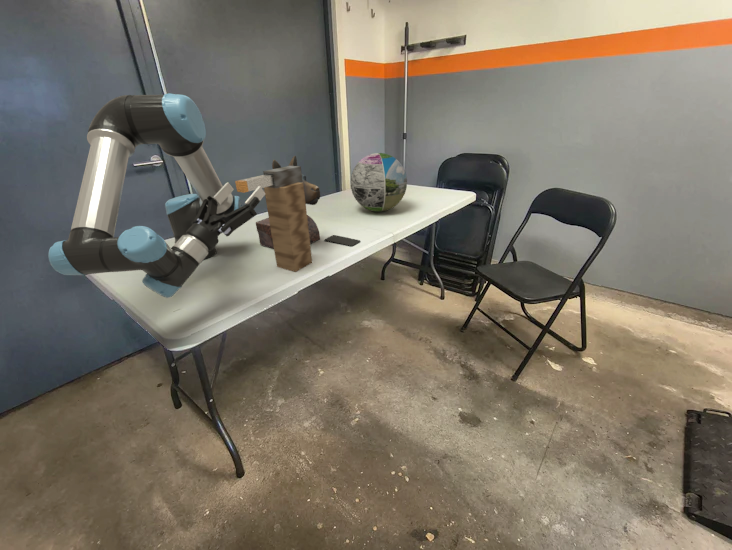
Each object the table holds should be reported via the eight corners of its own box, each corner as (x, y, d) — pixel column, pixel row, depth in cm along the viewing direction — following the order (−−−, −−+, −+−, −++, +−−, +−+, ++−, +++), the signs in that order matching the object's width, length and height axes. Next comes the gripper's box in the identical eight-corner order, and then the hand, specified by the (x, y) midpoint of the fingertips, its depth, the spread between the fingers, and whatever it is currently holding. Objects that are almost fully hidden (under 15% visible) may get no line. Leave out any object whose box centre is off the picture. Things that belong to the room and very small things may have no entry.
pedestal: (293, 273, 114) (279, 172, 98) (275, 267, 118) (258, 170, 103) (315, 260, 123) (305, 166, 107) (297, 256, 127) (285, 165, 112)
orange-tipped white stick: (244, 192, 93) (242, 181, 91) (237, 191, 94) (235, 181, 93) (299, 178, 110) (298, 169, 109) (292, 177, 112) (291, 168, 110)
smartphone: (352, 246, 134) (323, 239, 141) (352, 248, 134) (323, 241, 141) (361, 240, 139) (333, 234, 146) (361, 242, 140) (333, 236, 147)
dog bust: (309, 258, 124) (297, 162, 109) (259, 245, 138) (242, 158, 122) (338, 243, 138) (332, 155, 122) (290, 232, 152) (279, 153, 136)
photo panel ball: (397, 220, 164) (398, 157, 150) (343, 216, 174) (339, 156, 160) (412, 205, 189) (414, 150, 175) (363, 202, 199) (361, 149, 185)
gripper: (180, 244, 94) (226, 193, 103) (237, 261, 82) (283, 202, 91) (160, 226, 88) (210, 174, 97) (218, 242, 76) (269, 181, 85)
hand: (245, 187), depth 94 cm, fingers open, 13 cm apart
